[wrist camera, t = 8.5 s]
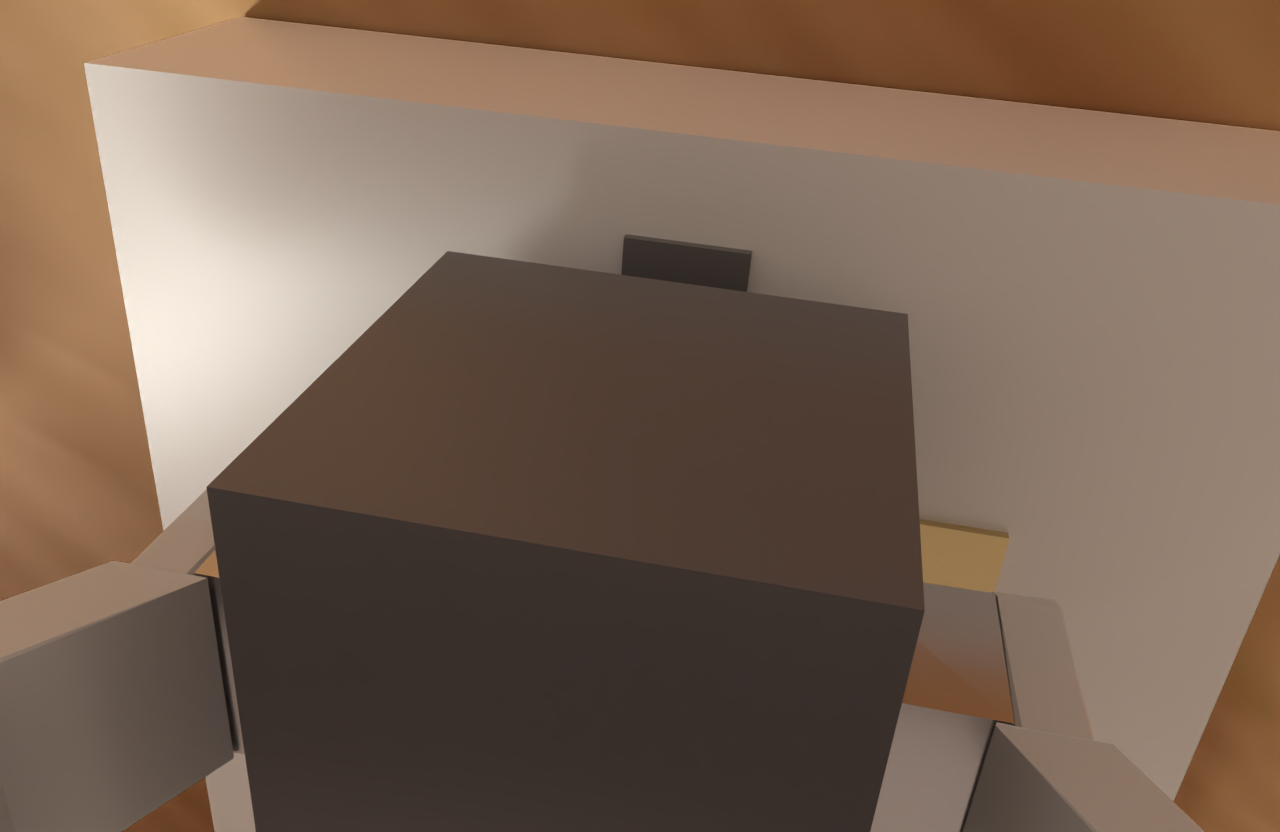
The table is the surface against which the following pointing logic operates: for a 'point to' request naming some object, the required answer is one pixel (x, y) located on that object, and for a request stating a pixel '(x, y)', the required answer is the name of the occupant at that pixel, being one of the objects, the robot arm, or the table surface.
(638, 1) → the table surface
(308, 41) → the slider panel
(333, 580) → the block
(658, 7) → the table surface
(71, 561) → the table surface
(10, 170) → the table surface
